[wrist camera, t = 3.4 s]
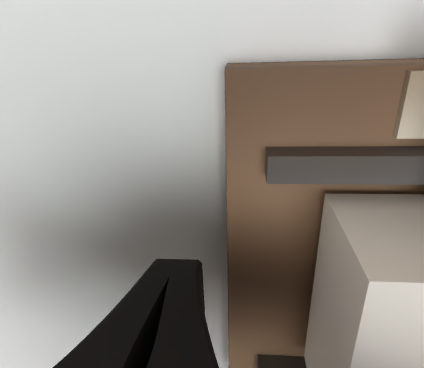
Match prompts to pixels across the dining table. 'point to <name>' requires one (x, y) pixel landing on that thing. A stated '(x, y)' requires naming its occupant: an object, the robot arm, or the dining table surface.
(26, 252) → the dining table surface
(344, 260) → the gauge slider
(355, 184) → the base
